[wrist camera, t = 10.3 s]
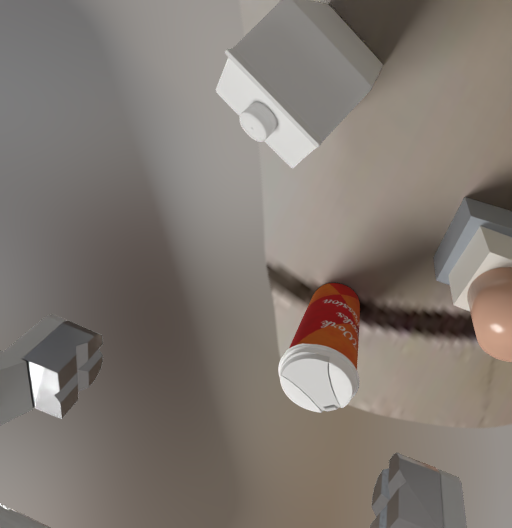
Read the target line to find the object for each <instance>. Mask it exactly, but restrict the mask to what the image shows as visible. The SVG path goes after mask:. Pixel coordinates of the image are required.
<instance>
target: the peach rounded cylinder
mask: <svg viewBox="0 0 512 528" xmlns="http://www.w3.org/2000/svg"><path fill="white" fill-rule="evenodd" d="M467 301H468V305H469V309H470V313H471V317H472V321H473V325H474V329H475V333H476V337H477V341H478V343H479V345H480V346H481V348H482V349H483V350H484V351H485V352H486V353H488V354H489V355H491V356H493V357H495V358H497V359H500V360H503V361H508V362H512V267H500V268H495V269H491V270H489V271H486V272H484V273H482V274H481V275H479V276H478V277H477V278H476V279H475V280H474V281H473V282H472V283H471V285H470V287H469V289H468V292H467Z"/></svg>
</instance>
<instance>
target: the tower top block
mask: <svg viewBox="0 0 512 528" xmlns="http://www.w3.org/2000/svg"><path fill="white" fill-rule="evenodd" d="M500 267H512V237H509V236H507V235H504V234H501V233H499V232H496V231H493V230H490V229H488V228H485V227H482V226H480V227H479V228H478V230H477V231H476V233H475V235H474V236H473V238H472V239H471V241H470V242H469V244H468V245H467V247H466V249H465V250H464V252H463V253H462V255H461V256H460V258H459V259H458V261H457V263H456V264H455V266H454V267H453V269H452V270H451V272H450V273H449V275H448V276H449V282H450V288H451V294H452V300H453V305H455V306H457V307H460V308H462V309H465V310H468V311H470V309H469V305H468V301H467V292H468V289H469V287H470V285H471V283H472V282H473V281H474V280H475V279H476V278H477V277H478V276H479V275H481V274H482V273H484V272H486V271H489V270H491V269H495V268H500Z"/></svg>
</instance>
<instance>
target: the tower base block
mask: <svg viewBox="0 0 512 528" xmlns="http://www.w3.org/2000/svg"><path fill="white" fill-rule="evenodd" d="M480 226H482V227H485V228H488V229H490V230H493V231H496V232H499V233H501V234H504V235H507V236H509V237H512V211H510V210H506V209H503V208H500V207H496V206H493V205H490V204H486V203H483V202H480V201H476V200H473V199H470V198H467V197H464V199H463V201H462V203H461V205H460V207H459V209H458V211H457V213H456V215H455V217H454V218H453V220H452V222H451V224H450V226H449V228H448V230H447V232H446V234H445V236H444V238H443V240H442V242H441V244H440V245H439V247H438V249H437V251H436V253H435V255H434V257H433V258H434V266H435V275H436V281H439V282H442V283H445V284H448V285H450V282H449V276H448V275H449V273H450V272H451V270H452V269H453V267H454V266H455V264H456V263H457V261H458V259H459V258H460V256H461V255H462V253H463V252H464V250H465V249H466V247H467V245H468V244H469V242H470V241H471V239H472V238H473V236H474V235H475V233H476V231H477V230H478V228H479V227H480Z"/></svg>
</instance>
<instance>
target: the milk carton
mask: <svg viewBox="0 0 512 528" xmlns="http://www.w3.org/2000/svg"><path fill="white" fill-rule="evenodd" d="M225 54H226V55H227V56H228V60H227V62H226V65H225V68H224V70H223V72H222V75H221V78H220V80H219V83H218V85H217V88H216V92H217V93H218V94H219V95H220V97H221V98H222V99H223V100H224V101H225V102H226V103H227V104H228V105H229V106H230V107H231V108H232V109H233V110H234V111H235V112H236V113H237V114H238V115H239V116H240V124H241V126H242V128H243V129H244V131H245V132H246V133H247V134H248V135H249V136H250V137H251V138H252V139H254V140H256V141H258V142H263V141H265V142H266V143H267V144H268V145H269V146H270V147H271V148H272V149H273V150H274V151H275V152H276V153H277V154H278V155H279V156H280V157H281V158H282V159H283V160H284V161H285V162H286V163H287V164H288V165H289V166H290V167H292V168H293V167H294V166H296V165H297V164H298V163H299V162H300V161H301V160H302V159H304V158H305V157H306V156H307V155H308V154H309V153H310V152H312V151H313V150H314V149H315V148H316V147H317V148H318V147H319V146H320V145H321V143H322V142H323V141H324V140H325V138H326V137H327V136H328V135H329V134H330V133H331V132H332V131H333V130H334V129H335V128H336V127H337V126H338V125H339V123H340V122H341V121H342V120H343V119H344V118H345V117H346V116H347V115H348V114H349V113H350V112H351V111H352V110H353V108H354V107H355V106H356V105H357V104H358V103H359V102H360V101H361V100H362V99H363V98H364V97H365V96H366V95H367V93H368V92H369V91H370V90H371V89H372V87H373V85H374V83H375V81H376V79H377V77H378V75H379V73H380V71H381V69H382V67H383V64H382V63H381V62H380V61H379V59H378V58H377V57H376V56H375V55H374V54H373V53H372V52H371V51H370V49H369V48H368V47H367V46H366V45H365V44H364V43H363V42H362V41H361V40H360V38H359V37H358V36H357V35H356V34H355V33H354V32H353V31H352V30H351V29H350V27H349V26H348V25H347V24H346V23H345V22H344V21H343V20H342V19H341V17H340V16H339V15H338V14H337V13H336V12H335V11H334V10H333V9H332V8H331V7H330V6H329V5H328V4H325V3H320V2H315V1H310V0H281V1H280V2H279V3H278V4H277V5H276V6H275V7H274V8H273V9H272V10H271V11H270V12H269V13H268V14H267V15H266V16H265V17H264V18H263V19H262V20H261V21H260V22H259V23H258V24H257V25H256V26H255V27H254V28H253V29H252V30H251V31H250V32H249V33H248V34H247V35H246V36H245V37H244V38H243V39H242V40H241V41H240V42H239V43H238V44H237V45H236V46H235V47H234V48H232V49H227V50H226V51H225Z"/></svg>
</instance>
